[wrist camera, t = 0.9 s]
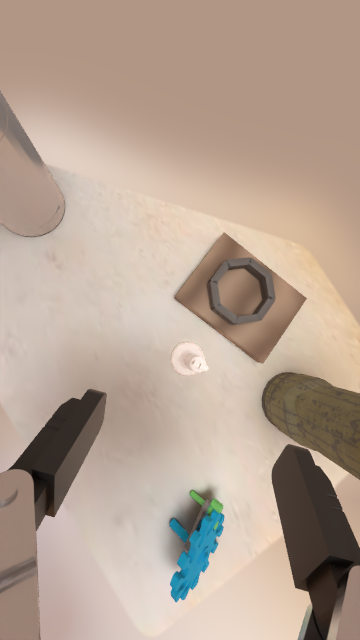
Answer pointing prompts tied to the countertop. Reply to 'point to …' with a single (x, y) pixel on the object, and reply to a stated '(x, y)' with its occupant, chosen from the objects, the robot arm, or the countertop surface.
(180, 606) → the countertop surface
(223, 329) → the socket board
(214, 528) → the blue and green toy
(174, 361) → the chess piece
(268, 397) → the thermos
